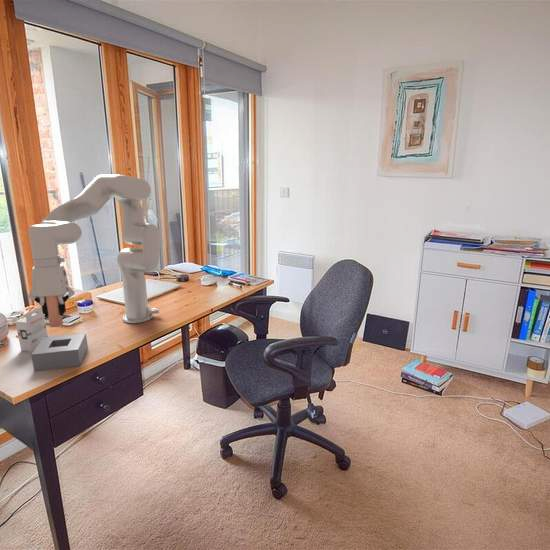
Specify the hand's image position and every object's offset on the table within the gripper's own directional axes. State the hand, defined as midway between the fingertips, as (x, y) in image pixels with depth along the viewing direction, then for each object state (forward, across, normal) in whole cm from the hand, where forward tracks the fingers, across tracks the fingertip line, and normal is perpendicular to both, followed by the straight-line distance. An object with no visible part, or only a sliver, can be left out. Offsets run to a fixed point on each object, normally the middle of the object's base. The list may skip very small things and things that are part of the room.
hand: (54, 314), depth 133 cm
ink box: (+17, +12, -14) cm, 25 cm away
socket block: (+17, 0, 0) cm, 17 cm away
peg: (+4, 0, 0) cm, 4 cm away
